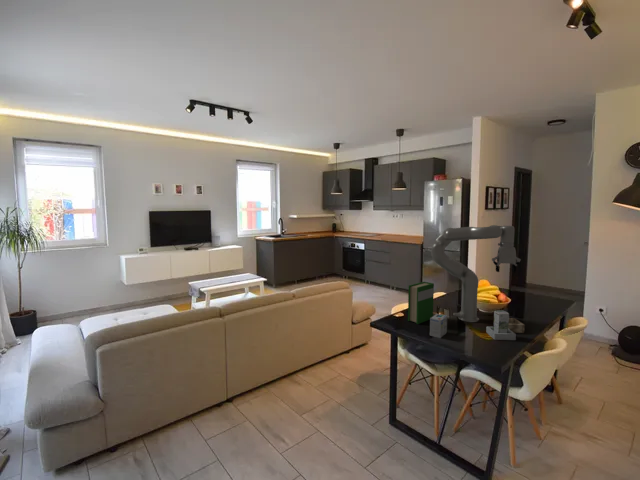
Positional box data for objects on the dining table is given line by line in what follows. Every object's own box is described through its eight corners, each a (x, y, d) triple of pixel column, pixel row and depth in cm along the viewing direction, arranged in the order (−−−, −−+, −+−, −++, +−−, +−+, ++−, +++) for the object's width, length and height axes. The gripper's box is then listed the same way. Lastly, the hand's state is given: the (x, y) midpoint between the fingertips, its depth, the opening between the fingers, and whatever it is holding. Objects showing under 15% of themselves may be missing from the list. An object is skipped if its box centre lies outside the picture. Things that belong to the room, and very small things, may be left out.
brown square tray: (504, 332, 199) (504, 324, 199) (495, 325, 210) (496, 317, 210) (524, 332, 198) (524, 324, 198) (514, 326, 210) (515, 318, 209)
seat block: (494, 339, 188) (494, 333, 188) (486, 332, 200) (486, 326, 199) (515, 340, 187) (515, 334, 187) (506, 332, 199) (506, 326, 198)
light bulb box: (435, 330, 203) (436, 313, 202) (447, 332, 199) (447, 315, 198) (429, 335, 195) (429, 317, 194) (440, 338, 191) (441, 320, 190)
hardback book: (417, 324, 214) (418, 287, 212) (407, 321, 220) (408, 285, 217) (432, 318, 225) (433, 283, 223) (423, 315, 231) (424, 281, 228)
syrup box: (502, 334, 197) (503, 310, 195) (508, 337, 191) (509, 313, 189) (492, 334, 197) (493, 310, 195) (498, 338, 191) (499, 313, 189)
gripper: (495, 245, 208) (494, 272, 210) (524, 246, 207) (522, 273, 208) (490, 244, 215) (489, 270, 217) (518, 244, 214) (516, 270, 216)
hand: (505, 271), depth 213 cm, fingers open, 9 cm apart
